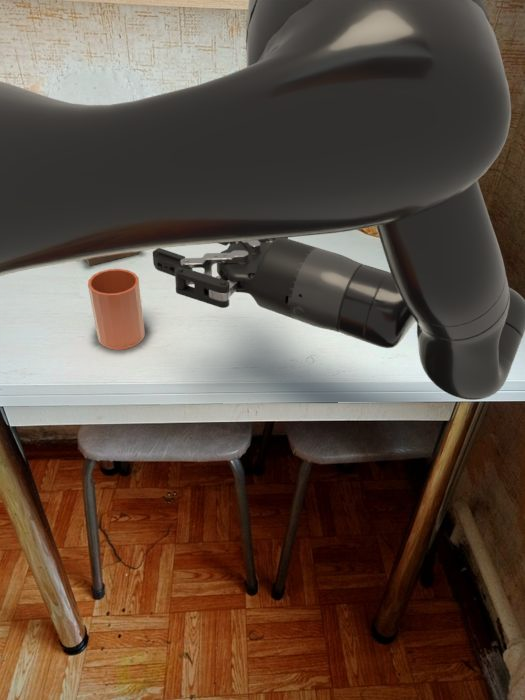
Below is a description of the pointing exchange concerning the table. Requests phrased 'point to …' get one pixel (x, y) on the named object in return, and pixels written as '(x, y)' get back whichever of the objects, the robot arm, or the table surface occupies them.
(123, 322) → the cup
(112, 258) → the block
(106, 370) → the table surface
